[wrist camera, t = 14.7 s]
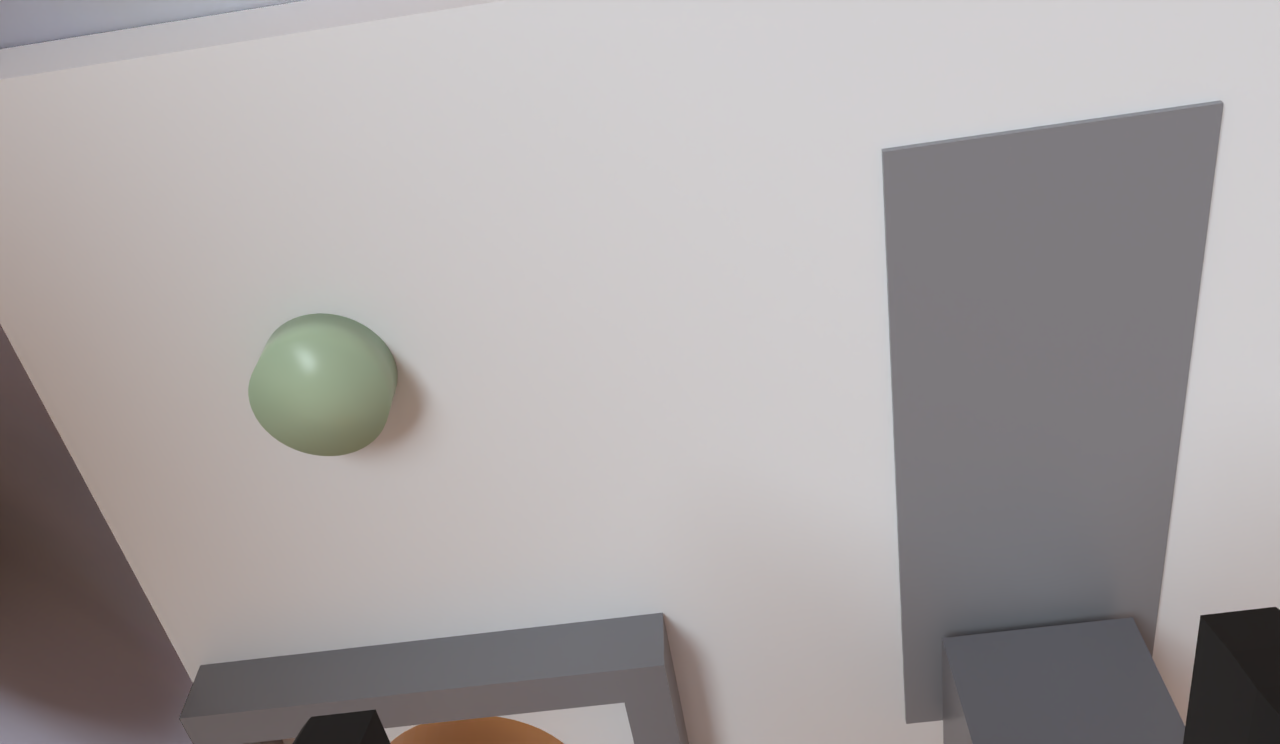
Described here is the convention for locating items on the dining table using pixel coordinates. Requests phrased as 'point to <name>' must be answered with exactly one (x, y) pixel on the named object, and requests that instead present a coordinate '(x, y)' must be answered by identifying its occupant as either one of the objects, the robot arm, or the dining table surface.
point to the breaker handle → (1056, 687)
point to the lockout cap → (476, 733)
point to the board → (656, 346)
